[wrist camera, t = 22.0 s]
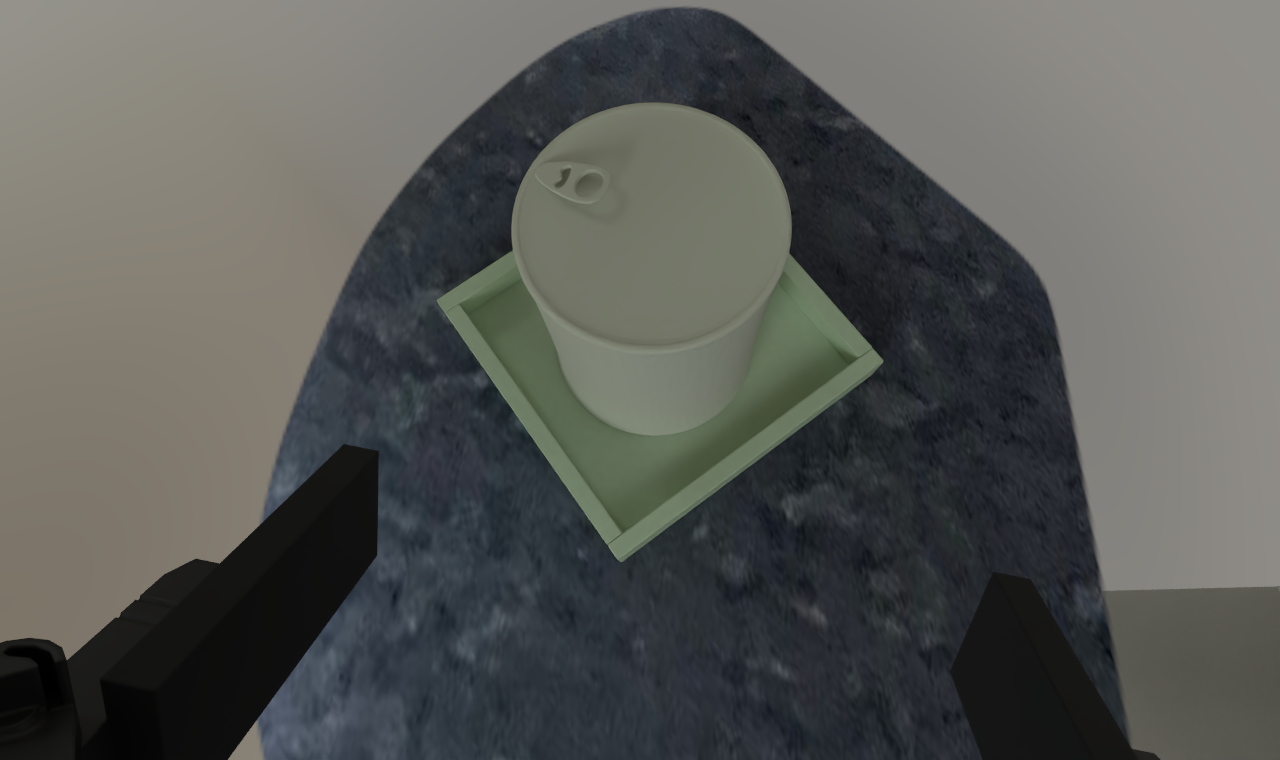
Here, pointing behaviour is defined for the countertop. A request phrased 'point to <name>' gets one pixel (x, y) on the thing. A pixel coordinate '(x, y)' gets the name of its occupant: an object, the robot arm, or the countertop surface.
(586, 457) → the tray
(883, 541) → the countertop surface
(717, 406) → the can
